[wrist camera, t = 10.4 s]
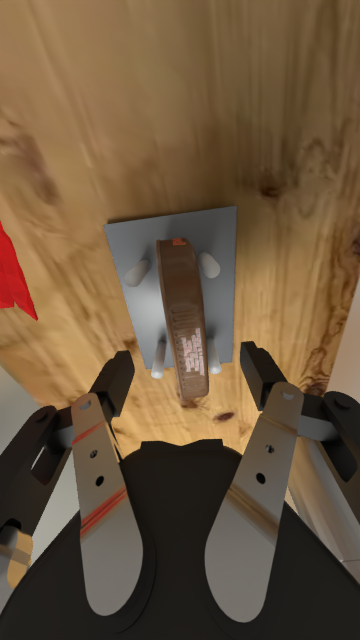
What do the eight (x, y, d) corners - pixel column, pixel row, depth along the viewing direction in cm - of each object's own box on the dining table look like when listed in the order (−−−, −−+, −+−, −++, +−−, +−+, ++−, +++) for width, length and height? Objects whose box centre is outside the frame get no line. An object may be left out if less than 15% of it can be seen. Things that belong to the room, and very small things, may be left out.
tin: (159, 236, 16) (139, 247, 9) (192, 232, 16) (201, 238, 9) (179, 358, 23) (177, 420, 16) (202, 356, 23) (211, 419, 16)
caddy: (233, 206, 16) (259, 197, 10) (230, 357, 24) (243, 393, 19) (107, 224, 17) (72, 225, 11) (147, 364, 25) (137, 401, 20)
